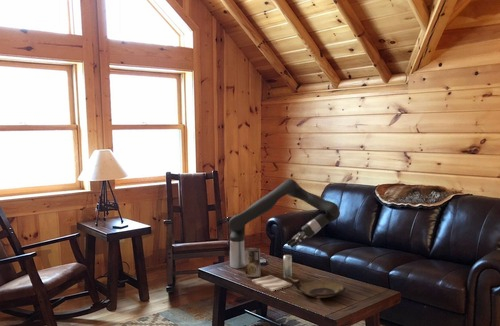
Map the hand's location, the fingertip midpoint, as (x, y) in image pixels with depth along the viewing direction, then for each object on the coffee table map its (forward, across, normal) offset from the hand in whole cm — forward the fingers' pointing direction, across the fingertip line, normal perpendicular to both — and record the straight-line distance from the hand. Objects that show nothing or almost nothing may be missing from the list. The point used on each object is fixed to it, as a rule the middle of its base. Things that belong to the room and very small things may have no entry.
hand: (289, 245), depth 248 cm
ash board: (+21, -1, +11) cm, 24 cm away
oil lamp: (+5, +17, +26) cm, 32 cm away
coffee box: (+27, -18, +5) cm, 33 cm away
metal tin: (+11, -11, +17) cm, 23 cm away
